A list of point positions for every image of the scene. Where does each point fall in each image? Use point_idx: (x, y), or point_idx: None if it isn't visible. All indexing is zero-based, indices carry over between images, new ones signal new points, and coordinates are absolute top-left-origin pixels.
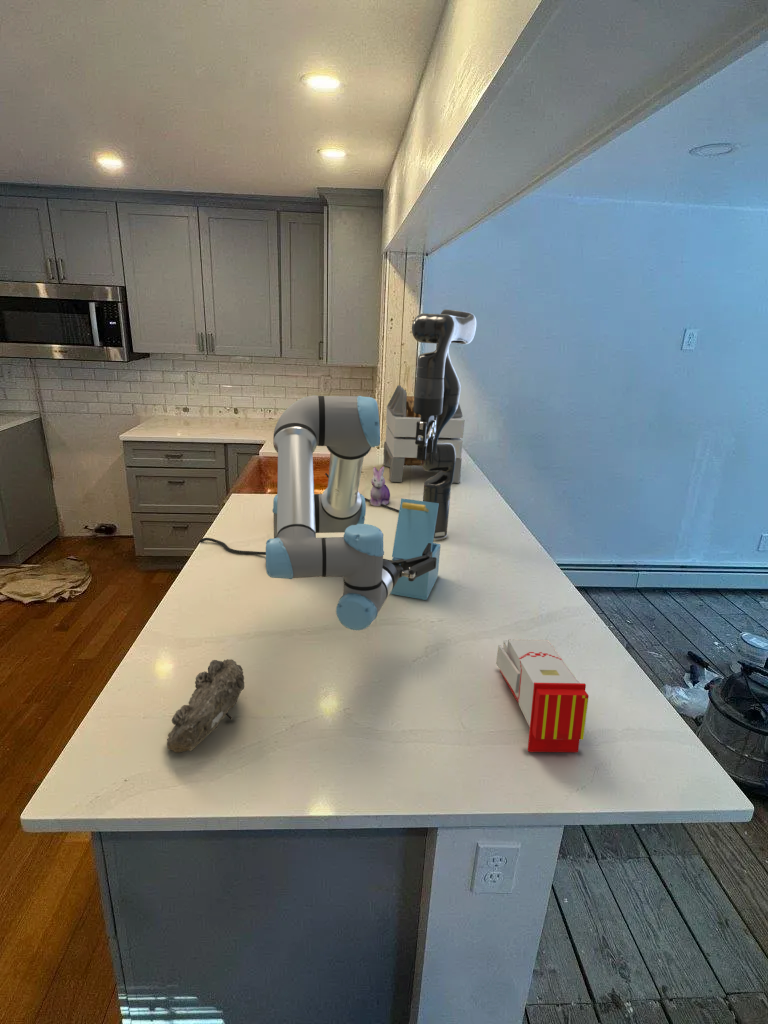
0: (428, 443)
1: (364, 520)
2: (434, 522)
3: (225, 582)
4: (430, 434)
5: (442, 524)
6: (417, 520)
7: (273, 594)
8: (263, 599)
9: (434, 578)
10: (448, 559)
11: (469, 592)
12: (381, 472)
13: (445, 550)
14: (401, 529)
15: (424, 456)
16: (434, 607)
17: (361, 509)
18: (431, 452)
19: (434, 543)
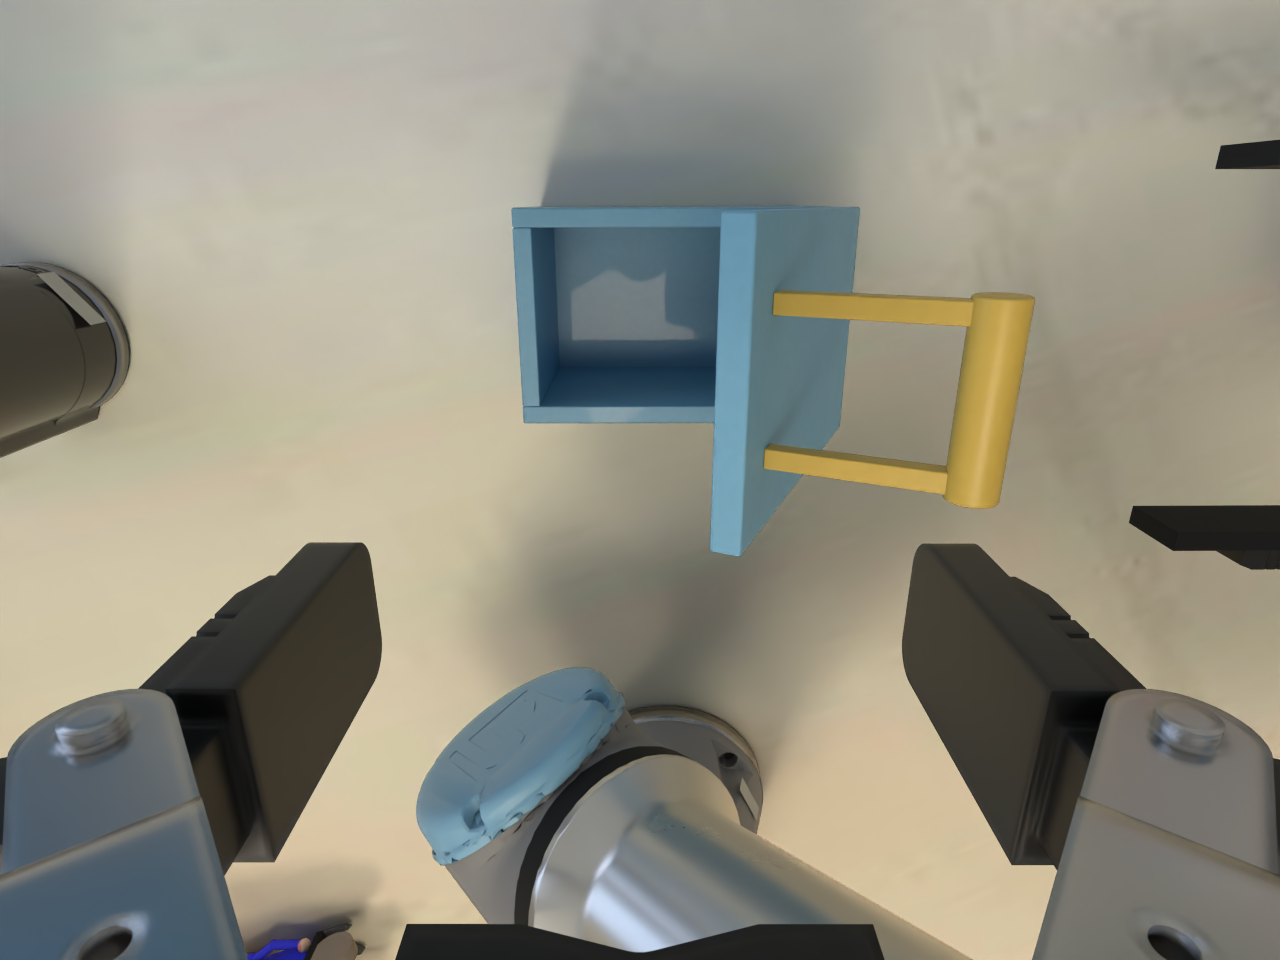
0: (296, 716)
1: (594, 683)
2: (804, 217)
3: (871, 900)
4: (1117, 915)
5: (13, 296)
6: (794, 357)
7: (912, 751)
8: (954, 764)
9: (634, 206)
10: (309, 193)
11: (648, 3)
12: None
13: (203, 234)
14: (805, 441)
15: (1000, 579)
16: (853, 154)
17: (597, 745)
18: (362, 545)
19: (521, 246)
